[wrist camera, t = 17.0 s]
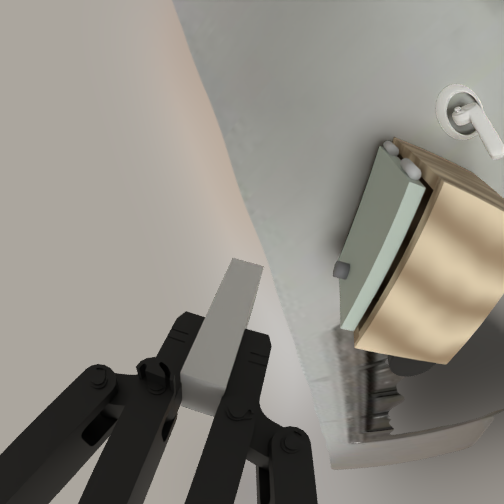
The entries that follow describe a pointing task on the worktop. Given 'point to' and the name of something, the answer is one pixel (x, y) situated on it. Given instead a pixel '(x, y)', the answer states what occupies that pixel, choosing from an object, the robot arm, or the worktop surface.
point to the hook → (468, 120)
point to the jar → (408, 366)
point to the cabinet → (439, 267)
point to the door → (377, 231)
